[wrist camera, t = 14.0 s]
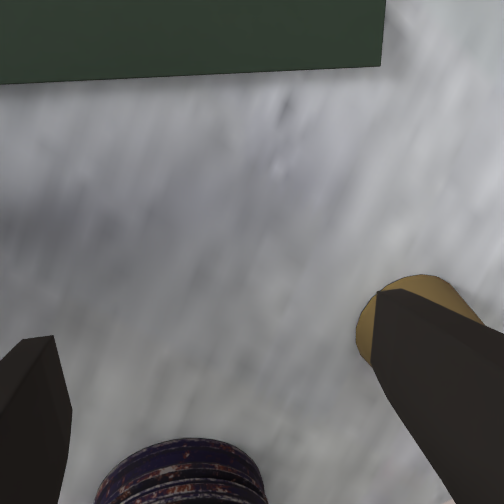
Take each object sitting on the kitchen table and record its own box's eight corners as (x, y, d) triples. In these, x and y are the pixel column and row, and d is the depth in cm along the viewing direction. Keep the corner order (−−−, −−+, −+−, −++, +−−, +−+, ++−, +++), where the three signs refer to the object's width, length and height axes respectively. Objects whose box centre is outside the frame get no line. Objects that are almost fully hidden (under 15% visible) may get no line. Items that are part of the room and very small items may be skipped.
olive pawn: (414, 253, 23) (610, 413, 13) (481, 310, 26) (687, 481, 16) (332, 340, 24) (457, 544, 15) (404, 387, 27) (551, 588, 17)
